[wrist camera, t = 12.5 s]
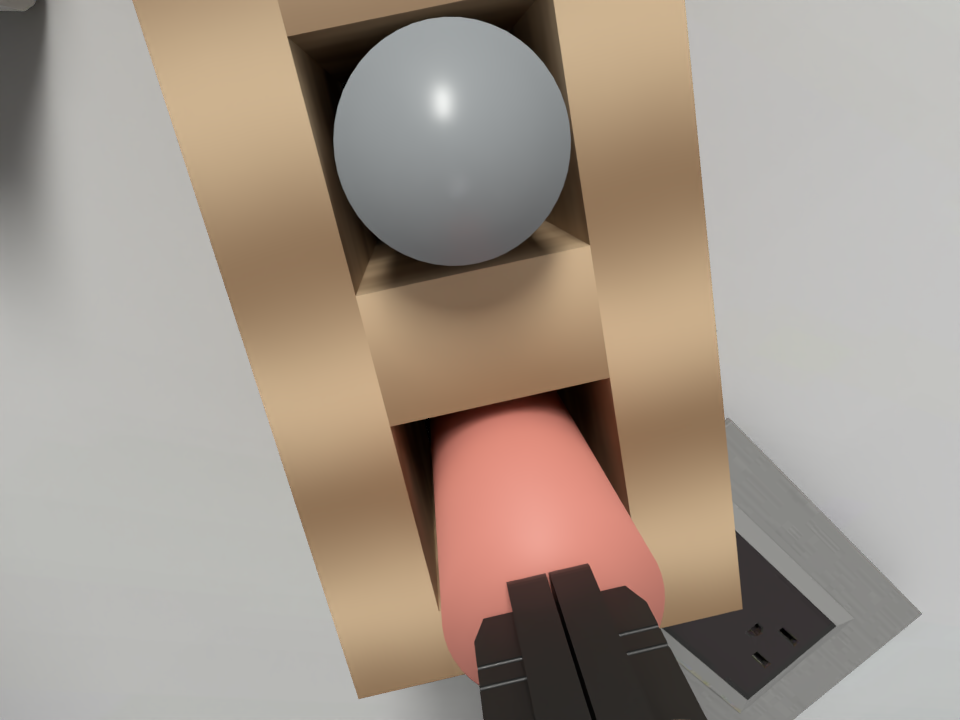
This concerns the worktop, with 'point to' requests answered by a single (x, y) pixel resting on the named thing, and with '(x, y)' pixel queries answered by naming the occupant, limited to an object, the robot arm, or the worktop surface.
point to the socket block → (459, 296)
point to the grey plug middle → (452, 141)
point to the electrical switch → (16, 5)
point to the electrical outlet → (785, 603)
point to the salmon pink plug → (524, 514)
